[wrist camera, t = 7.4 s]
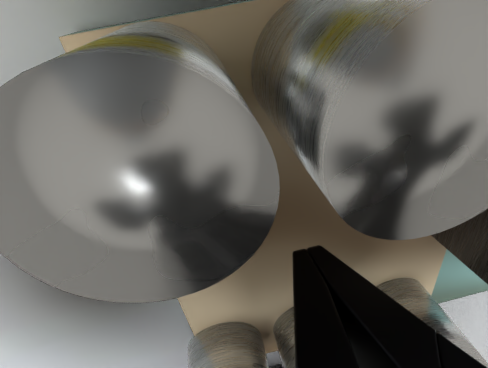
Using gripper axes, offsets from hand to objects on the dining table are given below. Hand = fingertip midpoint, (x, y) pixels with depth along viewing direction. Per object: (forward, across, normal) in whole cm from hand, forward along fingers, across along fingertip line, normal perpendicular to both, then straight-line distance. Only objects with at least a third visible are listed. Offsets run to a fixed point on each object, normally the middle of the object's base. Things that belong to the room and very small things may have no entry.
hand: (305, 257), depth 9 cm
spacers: (+1, -1, 0) cm, 1 cm away
